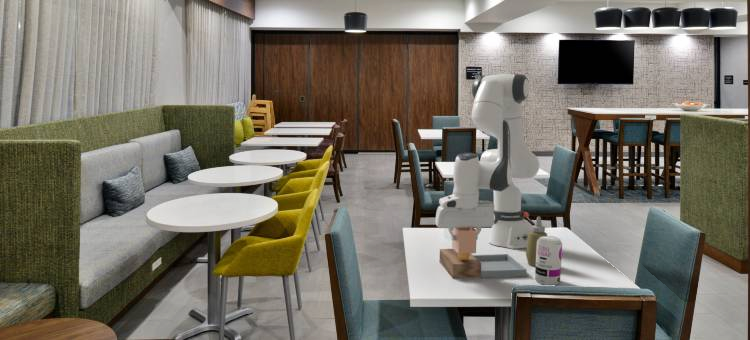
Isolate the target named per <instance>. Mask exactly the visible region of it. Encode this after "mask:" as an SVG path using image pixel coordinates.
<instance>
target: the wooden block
mask: <svg viewBox="0 0 750 340" xmlns="http://www.w3.org/2000/svg"><path fill="white" fill-rule="evenodd" d="M473 255H474V254H473V253H470V257H469V258H468V259H467V260H461V259H460V258H459V256H458V253H457V252H456V251H455V250H454V249H453V248H439V263H440V265H441V266H442V267H443V268H444V269H445V271H446V272H447V274H448V275H449V276H450V277H451V278H452V279H469V278H470V279H471V278H472V279H473V278H481V262H480V261H478V260H477V259H476V258H475V257H474V256H473Z"/></svg>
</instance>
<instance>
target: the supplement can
mask: <svg viewBox="0 0 750 340" xmlns="http://www.w3.org/2000/svg"><path fill="white" fill-rule="evenodd" d="M562 256H563V243H562V240H561V238H559V237H556V236H550V235H547V236H541V237H539V239H538V241H537V249H536V266H535V271H534V272H535V273H534V280H535V281H536V282H537V283H538V284H540V283H541V285H543V286H544V285H545V286H556V285H558V284H559V283H560V282H561V272H562Z"/></svg>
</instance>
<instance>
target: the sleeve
mask: <svg viewBox="0 0 750 340" xmlns="http://www.w3.org/2000/svg"><path fill="white" fill-rule="evenodd" d="M452 232H453V234H455V235H456V240H451V242H452V243H451V249H454V250H455V251H456V252H457V253H458V254H467V253H471V254H477V241H478V240H477V229H476V228H475V227H474V228H454V230H453V231H452Z"/></svg>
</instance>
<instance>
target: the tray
mask: <svg viewBox="0 0 750 340" xmlns="http://www.w3.org/2000/svg"><path fill="white" fill-rule="evenodd" d="M472 255H473V256H474V257H475V258H476V259H477V260H478V261H480V262H481V277H480V278H481V279H493V278H494V279H495V278H497V279H498V278H518V277H519V278H520V277H521V276H522V277H527V268H525V267H524V266H523V265H522V264H521V263H520V262H518V261H517V260H516V259H514V258H513V257H512V256H510V255H509V253H499V254H495V253H494V254H472Z"/></svg>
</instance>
